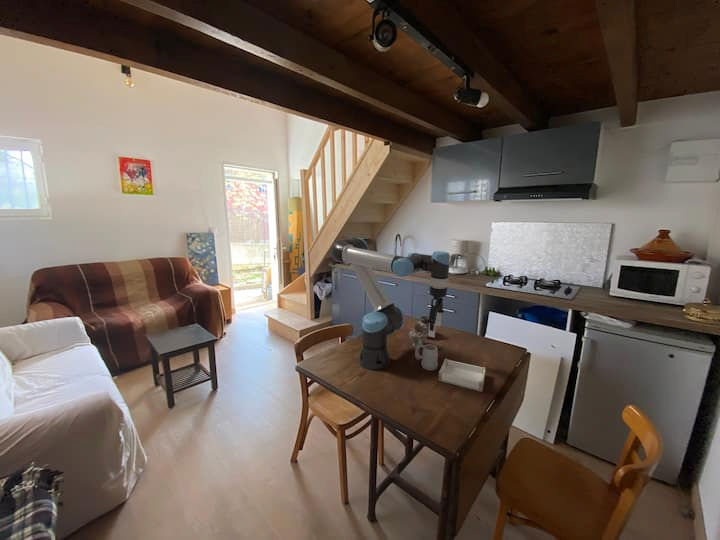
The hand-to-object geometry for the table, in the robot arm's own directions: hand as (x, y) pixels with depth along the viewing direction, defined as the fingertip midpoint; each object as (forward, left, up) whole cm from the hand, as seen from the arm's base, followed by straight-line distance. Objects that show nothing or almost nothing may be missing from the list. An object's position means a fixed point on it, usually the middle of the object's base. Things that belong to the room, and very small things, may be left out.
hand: (434, 330), depth 135 cm
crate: (+14, -5, -18) cm, 23 cm away
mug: (-3, -1, -18) cm, 18 cm away
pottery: (-12, +25, -18) cm, 33 cm away
